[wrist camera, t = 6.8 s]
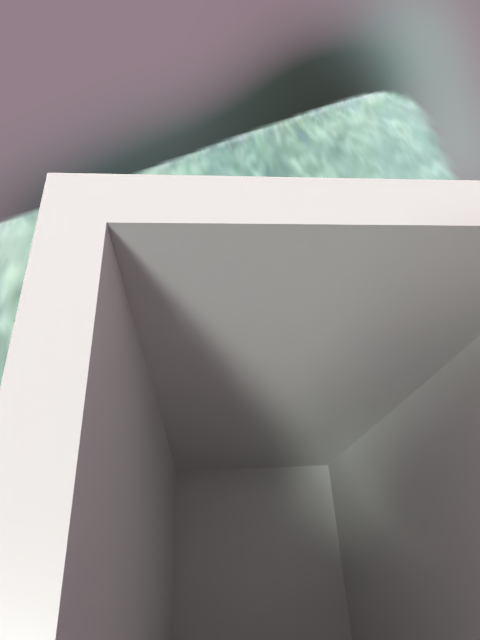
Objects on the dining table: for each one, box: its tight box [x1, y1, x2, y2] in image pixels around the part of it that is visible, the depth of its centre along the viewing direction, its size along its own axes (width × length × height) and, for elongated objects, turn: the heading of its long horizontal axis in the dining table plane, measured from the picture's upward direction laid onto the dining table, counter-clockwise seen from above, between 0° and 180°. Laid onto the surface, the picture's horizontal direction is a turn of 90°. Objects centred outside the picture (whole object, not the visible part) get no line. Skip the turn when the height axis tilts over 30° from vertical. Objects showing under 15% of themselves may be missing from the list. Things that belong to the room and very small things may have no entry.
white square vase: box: [0, 173, 480, 640], centre depth 8 cm, size 6×6×12 cm
